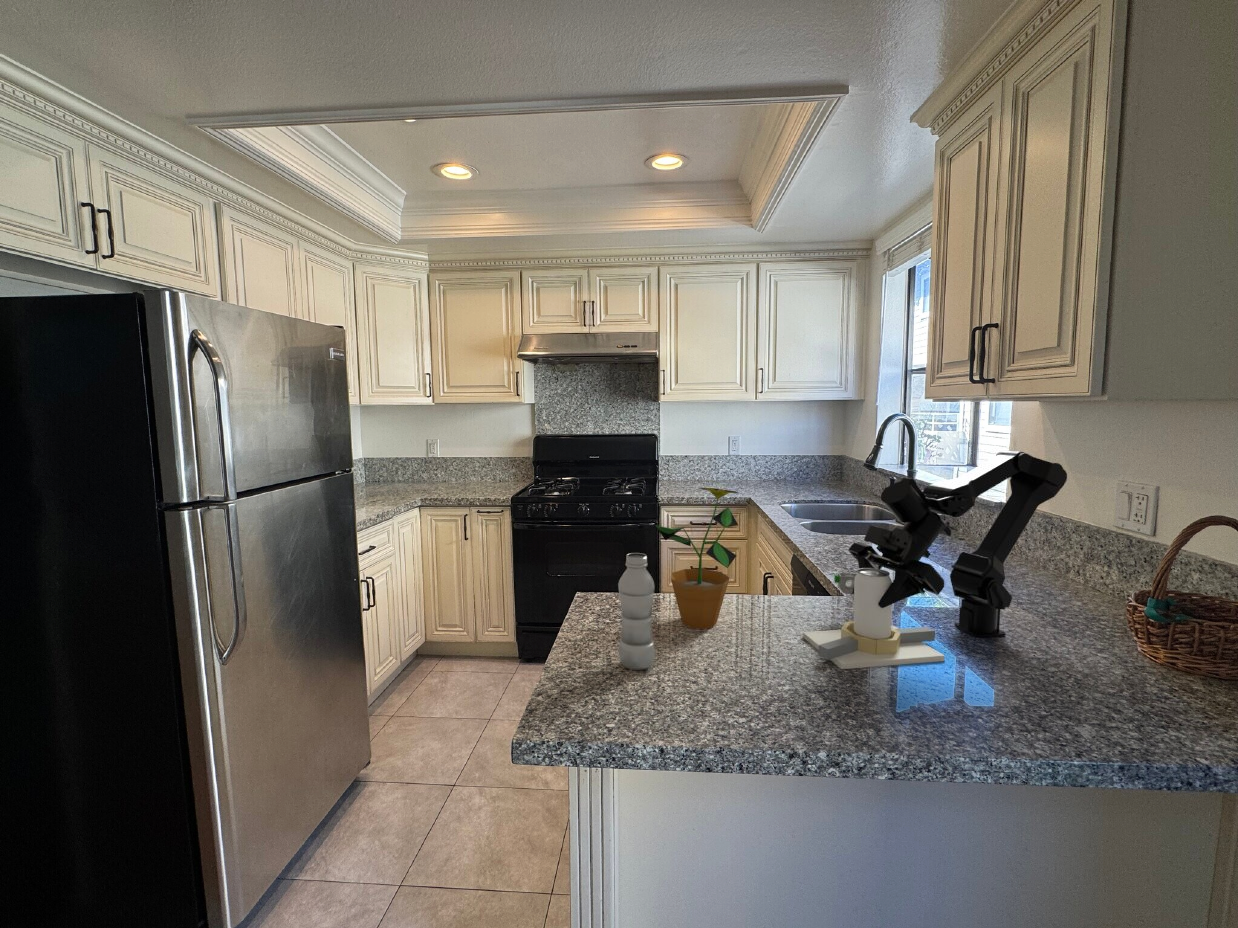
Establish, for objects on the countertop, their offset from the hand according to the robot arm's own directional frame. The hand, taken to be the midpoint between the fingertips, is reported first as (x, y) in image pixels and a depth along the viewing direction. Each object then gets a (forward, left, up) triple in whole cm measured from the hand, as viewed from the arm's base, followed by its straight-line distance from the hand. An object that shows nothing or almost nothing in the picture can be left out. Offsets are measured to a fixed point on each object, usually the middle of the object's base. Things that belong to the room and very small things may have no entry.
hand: (866, 600), depth 102 cm
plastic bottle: (+44, 0, -10) cm, 45 cm away
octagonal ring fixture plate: (-1, 0, -9) cm, 10 cm away
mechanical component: (-7, -13, -10) cm, 18 cm away
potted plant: (+27, -18, -10) cm, 34 cm away
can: (-1, 0, -7) cm, 7 cm away
